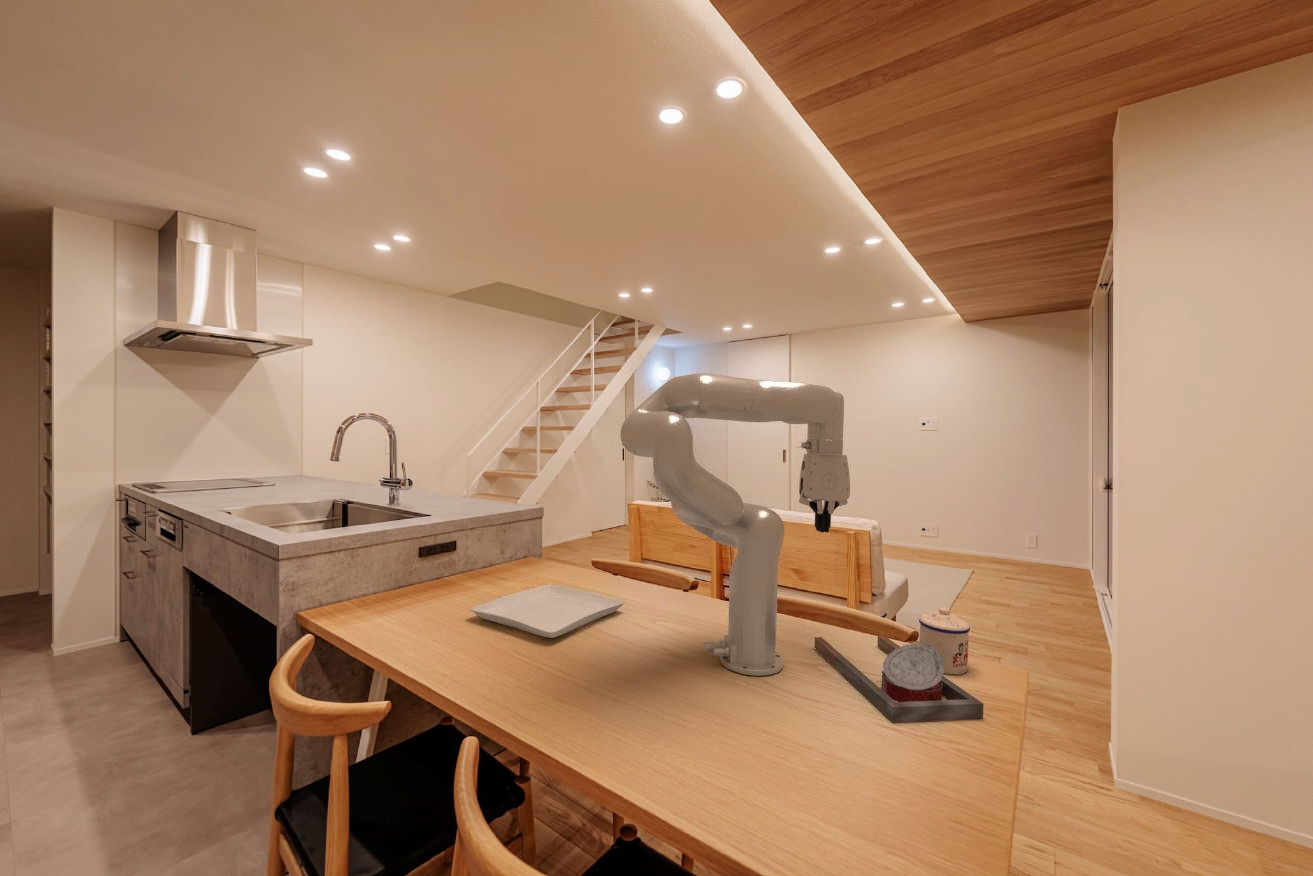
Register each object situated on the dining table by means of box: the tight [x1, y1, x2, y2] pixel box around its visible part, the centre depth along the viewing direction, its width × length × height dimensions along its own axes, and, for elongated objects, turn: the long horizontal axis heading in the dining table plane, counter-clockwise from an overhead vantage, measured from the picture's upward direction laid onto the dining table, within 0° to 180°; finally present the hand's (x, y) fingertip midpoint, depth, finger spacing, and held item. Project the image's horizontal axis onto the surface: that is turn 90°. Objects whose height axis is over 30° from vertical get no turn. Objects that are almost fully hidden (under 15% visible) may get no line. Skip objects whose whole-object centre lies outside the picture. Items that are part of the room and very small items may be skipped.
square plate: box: [469, 583, 626, 639], centre depth 129 cm, size 27×27×4 cm
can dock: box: [814, 635, 984, 724], centre depth 100 cm, size 16×30×2 cm, turn 7°
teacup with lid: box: [918, 607, 971, 676], centre depth 108 cm, size 12×9×12 cm
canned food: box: [881, 642, 945, 702], centre depth 95 cm, size 11×10×10 cm
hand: (822, 531), depth 116 cm, fingers closed
